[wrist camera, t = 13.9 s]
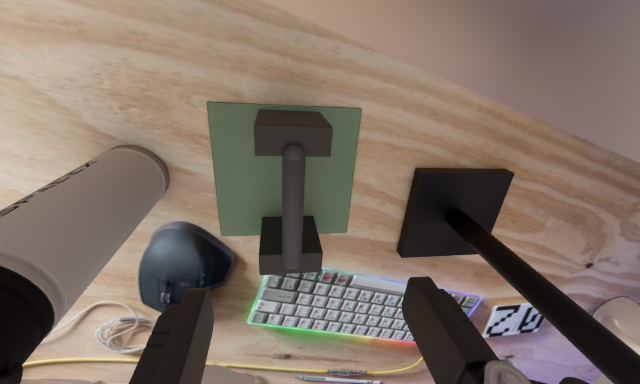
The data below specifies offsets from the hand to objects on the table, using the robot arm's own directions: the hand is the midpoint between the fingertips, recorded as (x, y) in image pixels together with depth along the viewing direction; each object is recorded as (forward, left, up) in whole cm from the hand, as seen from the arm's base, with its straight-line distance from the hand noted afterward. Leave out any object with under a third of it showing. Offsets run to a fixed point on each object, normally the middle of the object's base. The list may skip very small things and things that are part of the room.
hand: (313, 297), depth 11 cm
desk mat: (+3, 0, -20) cm, 20 cm away
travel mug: (+3, -15, -20) cm, 26 cm away
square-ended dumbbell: (+3, 0, -20) cm, 20 cm away
